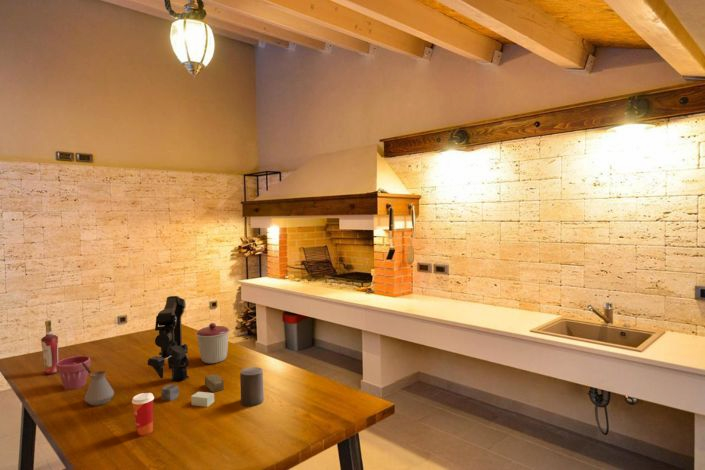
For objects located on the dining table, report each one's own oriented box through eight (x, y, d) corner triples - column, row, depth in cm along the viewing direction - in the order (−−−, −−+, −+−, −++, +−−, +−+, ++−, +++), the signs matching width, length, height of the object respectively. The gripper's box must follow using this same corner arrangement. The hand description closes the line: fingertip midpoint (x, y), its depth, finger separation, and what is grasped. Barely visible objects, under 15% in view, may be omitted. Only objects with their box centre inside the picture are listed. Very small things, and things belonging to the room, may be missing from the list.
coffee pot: (119, 399, 198) (117, 367, 196) (91, 410, 188) (89, 375, 187) (97, 389, 210) (95, 358, 209) (71, 398, 201) (68, 366, 200)
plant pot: (96, 385, 215) (94, 359, 214) (62, 394, 205) (60, 368, 204) (86, 377, 225) (84, 353, 224) (54, 386, 215) (52, 361, 214)
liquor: (40, 374, 232) (36, 322, 230) (54, 369, 238) (50, 318, 236) (49, 376, 229) (45, 323, 227) (63, 371, 236) (59, 319, 234)
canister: (238, 358, 248) (236, 321, 246) (212, 368, 233) (210, 329, 231) (216, 353, 258) (214, 317, 256) (190, 362, 242) (187, 325, 241)
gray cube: (161, 399, 196) (161, 388, 196) (170, 395, 201) (169, 384, 201) (170, 401, 195) (170, 390, 194) (178, 396, 199) (178, 385, 199)
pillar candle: (244, 408, 185) (242, 373, 184) (238, 399, 194) (237, 366, 193) (266, 403, 190) (265, 369, 189) (260, 394, 199) (259, 362, 198)
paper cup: (138, 427, 172) (136, 392, 171) (159, 426, 172) (156, 391, 171) (130, 438, 164) (128, 401, 163) (151, 436, 165) (149, 400, 164)
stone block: (212, 393, 202) (212, 383, 201) (204, 386, 211) (203, 375, 210) (225, 390, 205) (224, 379, 205) (216, 382, 214) (215, 372, 214)
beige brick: (191, 405, 190) (191, 396, 190) (198, 400, 195) (198, 391, 195) (207, 407, 188) (207, 398, 188) (214, 402, 193) (214, 393, 193)
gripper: (166, 348, 185) (168, 384, 186) (196, 335, 202) (198, 368, 203) (145, 346, 189) (147, 381, 190) (176, 333, 206) (178, 366, 207)
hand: (169, 374), depth 197 cm, fingers open, 9 cm apart
